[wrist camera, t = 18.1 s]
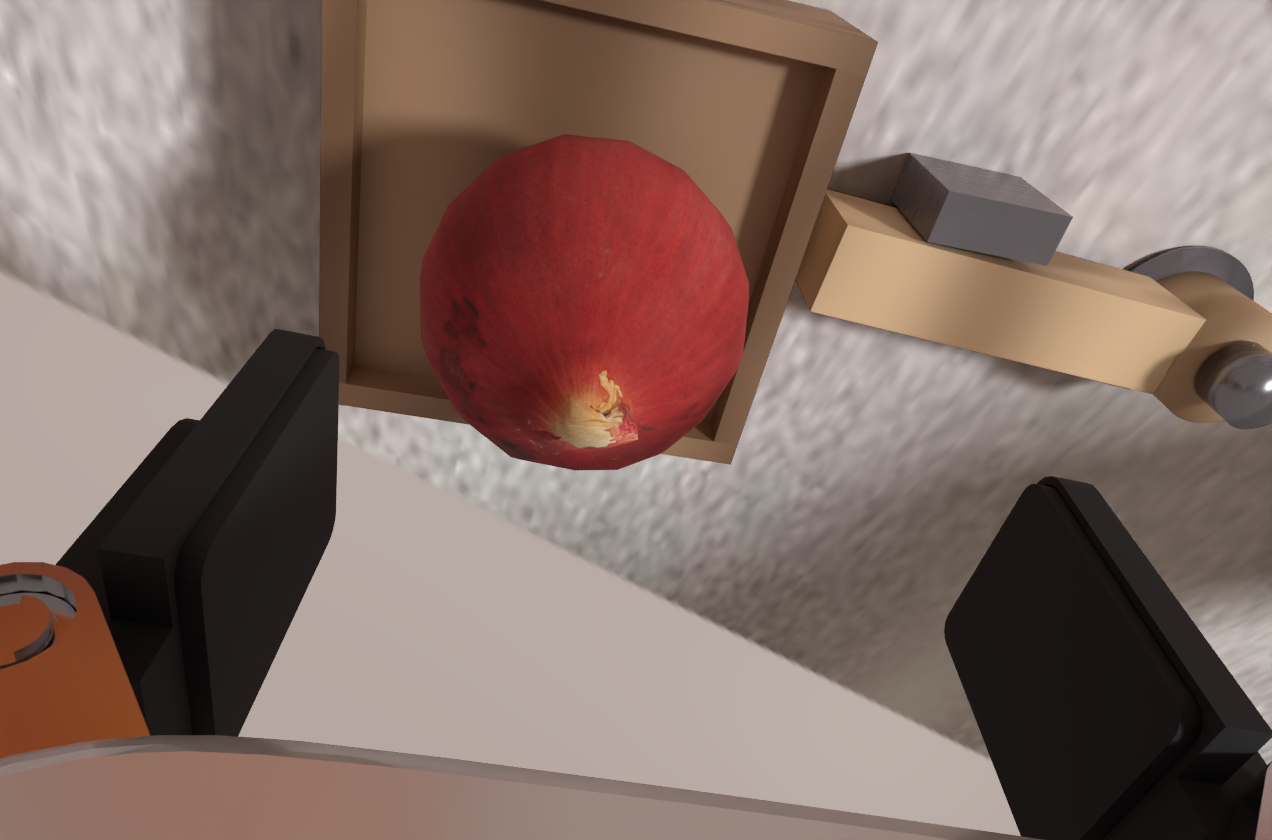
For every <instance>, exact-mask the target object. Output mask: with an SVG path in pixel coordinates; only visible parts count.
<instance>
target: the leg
mask: <svg viewBox="0 0 1272 840" xmlns="http://www.w3.org/2000/svg"><path fill="white" fill-rule="evenodd" d="M795 280H796V282H797V284H798V286H799V288H800V290H801V292H802V295H803V297H804V299H805V301H806V303H807V305H808V307H809V309H810V311H811V312H815V313H819V314H823V315H827V316H831V317H836V318H840V319H844V320H848V321H852V322H856V323H860V324H864V325H869V326H873V327H877V328H881V329H885V330H889V331H893V332H898V333H902V334H906V335H910V336H914V337H918V338H922V339H926V340H931V341H935V342H939V343H943V344H947V345H951V346H955V347H959V348H964V349H968V350H972V351H976V352H980V353H984V354H988V355H993V356H997V357H1001V358H1005V359H1009V360H1013V361H1017V362H1021V363H1026V364H1030V365H1034V366H1038V367H1042V368H1046V369H1050V370H1055V371H1059V372H1063V373H1067V374H1071V375H1075V376H1079V377H1083V378H1088V379H1092V380H1096V381H1100V382H1104V383H1108V384H1112V385H1116V386H1121V387H1125V388H1129V389H1133V390H1137V391H1141V392H1145V393H1150V394H1153V395H1154V396H1156V397H1157V398H1158V399H1159V400H1160V401H1161V402H1162V403H1163V404H1164V405H1165V406H1166V407H1167V408H1168V409H1169V410H1170V411H1171V412H1172V413H1173V414H1175V415H1176V416H1177V417H1179V418H1181V419H1183V420H1186V421H1190V422H1196V423H1211V422H1217V421H1222V420H1224V419H1223V418H1222V417H1221V416H1220V415H1219V414H1218V413H1216V412H1215V411H1214V410H1213V409H1212V408H1211V407H1210V406H1209V405H1207V404H1206V403H1205V402H1204V401H1203V400H1202V399H1201V398H1200V397H1199V396H1198V395H1197V394H1196V392H1195V389H1194V379H1195V376H1196V373H1197V371H1198V369H1199V368H1200V366H1201V365H1202V364H1203V362H1204V361H1205V360H1206V359H1207V358H1208V357H1209V356H1211V355H1212V354H1213V353H1214V352H1216V351H1218V350H1219V349H1221V348H1223V347H1225V346H1227V345H1230V344H1233V343H1237V342H1243V341H1250V342H1255V343H1258V344H1260V345H1262V346H1263V347H1264V348H1266V349H1267V350H1269V351H1270V352H1271V353H1272V313H1270V312H1269V311H1267V310H1266V309H1264V308H1263V307H1262V306H1260V305H1259V304H1257V303H1256V302H1254V301H1253V300H1251V299H1250V298H1248V297H1247V296H1245V295H1244V294H1242V293H1241V292H1239V291H1238V290H1236V289H1235V288H1233V287H1232V286H1231V285H1229V284H1228V283H1226V282H1225V281H1223V280H1222V279H1220V278H1218V277H1217V276H1215V275H1212V274H1210V273H1205V272H1196V271H1193V272H1184V273H1178V274H1175V275H1171V276H1169V277H1166V278H1164V279H1161V280H1159V281H1158V282H1156V281H1155V280H1153V279H1152V278H1151V277H1148V276H1145V275H1141V274H1137V273H1134V272H1130V271H1126V270H1123V269H1119V268H1115V267H1111V266H1108V265H1104V264H1100V263H1097V262H1093V261H1089V260H1086V259H1082V258H1078V257H1075V256H1071V255H1067V254H1064V253H1060V252H1056V251H1055V252H1054V254H1053V256H1052V258H1051V260H1050V262H1049V263H1048V265H1047V266H1044V265H1039V264H1034V263H1029V262H1024V261H1020V260H1015V259H1010V258H1005V257H1000V256H995V255H990V254H985V253H980V252H975V251H970V250H965V249H960V248H955V247H950V246H945V245H941V244H936V243H931V242H927V241H926V240H925V238H924V237H923V236H922V235H921V234H920V233H919V231H918V230H917V229H916V228H915V227H914V226H913V224H912V223H911V222H910V221H909V220H908V219H907V217H906V216H905V215H904V214H903V213H902V212H901V210H900V209H898V208H894V207H891V206H887V205H883V204H880V203H876V202H872V201H869V200H865V199H861V198H858V197H854V196H850V195H847V194H843V193H839V192H835V191H832V190H828V189H827V190H826V193H825V196H824V199H823V201H822V204H821V207H820V210H819V213H818V216H817V219H816V221H815V224H814V227H813V230H812V233H811V236H810V239H809V242H808V244H807V247H806V250H805V253H804V256H803V259H802V262H801V264H800V267H799V270H798V273H797V276H796V279H795Z"/></svg>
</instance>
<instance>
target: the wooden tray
mask: <svg viewBox="0 0 1272 840" xmlns="http://www.w3.org/2000/svg"><path fill="white" fill-rule="evenodd" d="M877 44H878V42H877V41H875V40H874V39H872V38H871V37H869V36H868V35H866V34H865V33H863V32H862V31H860V30H859V29H857V28H856V27H854V26H853V25H851V24H850V23H848V22H847V21H845V20H844V19H842V18H841V17H839V16H838V15H836V14H835V13H833V12H832V11H829V10H825V9H821V8H817V7H813V6H808V5H804V4H800V3H796V2H792V1H788V0H322V41H321V168H320V294H319V337H321V338H322V339H323V340H324V343H325V348H326V350H329V351H334V352H337V353H338V355H339V401H338V404H340V405H346V406H353V407H359V408H366V409H372V410H379V411H385V412H392V413H398V414H405V415H411V416H418V417H424V418H431V419H438V420H444V421H451V422H457V423H464V424H469V423H467V422H466V421H465V420H464V419H463V418H462V417H461V416H460V415H459V414H458V413H457V412H456V411H455V409H454V407H453V405H452V404H451V402H450V400H449V398H448V396H447V394H446V392H445V390H444V388H443V387H442V385H441V383H440V381H439V379H438V377H437V375H436V373H435V371H434V369H433V368H432V366H431V364H430V362H429V360H428V358H427V355H426V353H425V350H424V347H423V344H422V341H421V323H420V275H421V267H422V259H423V257H424V255H425V253H426V251H427V248H428V246H429V244H430V242H431V240H432V238H433V236H434V234H435V232H436V230H437V227H438V225H439V223H440V221H441V219H442V217H443V215H444V213H445V211H446V209H447V206H448V205H449V204H450V203H451V202H452V201H453V200H454V199H455V198H456V197H457V196H458V195H459V194H460V193H461V192H462V191H463V190H464V189H465V188H467V187H468V186H469V185H470V184H471V183H472V182H473V181H474V180H475V179H476V178H477V177H478V176H479V175H480V174H481V173H482V172H483V171H484V170H485V169H486V168H487V167H488V166H489V165H490V164H491V163H492V162H494V161H495V160H497V159H498V158H500V157H501V156H503V155H504V154H507V153H510V152H513V151H516V150H519V149H522V148H525V147H528V146H531V145H534V144H537V143H540V142H543V141H546V140H549V139H551V138H554V137H557V136H560V135H563V134H568V135H577V136H587V137H596V138H606V139H616V140H625V141H630V142H632V143H634V144H636V145H638V146H639V147H641V148H643V149H645V150H647V151H649V152H651V153H653V154H655V155H656V156H658V157H660V158H662V159H664V160H666V161H668V162H670V163H672V164H673V165H675V166H677V167H679V168H681V169H683V170H684V171H685V172H686V173H687V174H688V175H689V176H690V178H691V179H692V180H693V181H694V182H695V183H696V185H697V186H698V187H699V188H700V189H701V190H702V192H703V193H704V194H705V195H706V196H707V197H708V199H709V200H710V201H711V202H712V203H713V204H714V206H715V207H716V208H717V209H718V210H719V211H720V213H721V214H722V215H723V217H724V218H725V219H726V221H727V222H728V224H729V225H730V227H731V228H732V231H733V234H734V237H735V241H736V244H737V247H738V250H739V253H740V256H741V259H742V263H743V266H744V269H745V272H746V275H747V278H748V281H749V304H748V313H747V322H746V332H745V341H744V350H743V357H742V359H741V362H740V364H739V366H738V369H737V371H736V373H735V374H734V376H733V377H732V379H731V380H730V382H729V383H728V385H727V386H726V388H725V389H724V390H723V392H722V393H721V395H720V396H719V398H718V399H717V401H716V402H715V404H714V405H713V407H712V408H711V410H710V411H709V413H708V414H707V415H706V416H705V418H704V419H703V420H702V421H701V423H699V424H698V425H697V426H696V427H694V428H693V429H692V430H691V431H689V432H688V433H687V434H686V435H684V436H683V437H682V438H681V439H679V440H678V441H677V442H676V443H675V444H673V445H672V446H671V447H670V448H668V449H667V450H666V451H665V452H663V453H660V454H666V455H672V456H679V457H685V458H692V459H699V460H705V461H712V462H718V463H725V464H731V462H732V459H733V456H734V454H735V451H736V448H737V445H738V442H739V439H740V436H741V433H742V431H743V428H744V425H745V422H746V419H747V416H748V413H749V411H750V408H751V405H752V402H753V399H754V396H755V393H756V391H757V388H758V385H759V382H760V379H761V376H762V373H763V370H764V368H765V365H766V362H767V359H768V356H769V353H770V350H771V348H772V345H773V342H774V339H775V336H776V333H777V330H778V327H779V325H780V322H781V319H782V316H783V313H784V310H785V307H786V305H787V302H788V299H789V296H790V293H791V290H792V287H793V284H794V282H795V279H796V276H797V273H798V270H799V267H800V264H801V262H802V259H803V256H804V253H805V250H806V247H807V244H808V242H809V239H810V236H811V233H812V230H813V227H814V224H815V221H816V219H817V216H818V213H819V210H820V207H821V204H822V201H823V199H824V196H825V193H826V190H827V187H828V184H829V181H830V178H831V176H832V173H833V170H834V167H835V164H836V161H837V158H838V156H839V153H840V150H841V147H842V144H843V141H844V138H845V136H846V133H847V130H848V127H849V124H850V121H851V118H852V115H853V113H854V110H855V107H856V104H857V101H858V98H859V95H860V93H861V90H862V87H863V84H864V81H865V78H866V75H867V72H868V70H869V67H870V64H871V61H872V58H873V55H874V52H875V50H876V47H877Z"/></svg>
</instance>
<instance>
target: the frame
mask: <svg viewBox="0 0 1272 840" xmlns="http://www.w3.org/2000/svg"><path fill="white" fill-rule="evenodd" d="M891 200H892V201H893V202H894V203H895V205H896V206H897V207H898V208H899V209H900V210H901V212H902V213H903V214H904V215H905V216H906V217H907V219H908V220H909V221H910V222H911V223H912V224H913V226H914V227H915V228H916V229H917V230H918V231H919V233H920V234H921V235H922V236H923V237H924V238H925V240H926V241H927V242H931V243H936V244H941V245H945V246H950V247H955V248H960V249H965V250H970V251H975V252H980V253H985V254H990V255H995V256H1000V257H1005V258H1010V259H1015V260H1020V261H1024V262H1029V263H1034V264H1039V265H1044V266H1047V265H1048V263H1049V262H1050V260H1051V258H1052V256H1053V254H1054V252H1055V250H1056V248H1057V246H1058V244H1059V243H1060V241H1061V239H1062V237H1063V235H1064V233H1065V231H1066V229H1067V227H1068V225H1069V223H1070V222H1071V220H1072V218H1073V217H1072V216H1071V215H1069V214H1068V213H1067V212H1066V211H1064V210H1063V209H1062V208H1060V207H1059V206H1058V205H1056V204H1055V203H1054V202H1052V201H1051V200H1050V199H1048V198H1047V197H1046V196H1044V195H1043V194H1042V193H1040V192H1039V191H1038V190H1037V189H1035V188H1034V187H1033V186H1031V185H1030V184H1029V183H1027V182H1026V181H1025V180H1023V179H1022V178H1021V177H1017V176H1013V175H1008V174H1004V173H999V172H994V171H990V170H985V169H981V168H976V167H972V166H967V165H962V164H958V163H953V162H949V161H944V160H940V159H935V158H931V157H926V156H921V155H917V154H912V153H909V156H908V158H907V161H906V163H905V166H904V168H903V171H902V173H901V176H900V179H899V181H898V184H897V186H896V189H895V191H894V194H893V196H892V199H891ZM1129 271H1130V272H1134V273H1137V274H1141V275H1145V276H1148V277H1151V278H1152V279H1153V280H1155V281H1156V282H1158V281H1159V280H1161V279H1164V278H1166V277H1169V276H1171V275H1175V274H1178V273H1184V272H1193V271H1196V272H1205V273H1210V274H1212V275H1215V276H1217V277H1218V278H1220V279H1222V280H1223V281H1225V282H1226V283H1228V284H1229V285H1231V286H1232V287H1233V288H1235V289H1236V290H1238V291H1239V292H1241V293H1242V294H1244V295H1245V296H1247V297H1248V298H1250V299H1251V300H1253V299H1254V289H1253V283H1252V280H1251V277H1250V274H1249V273H1248V271H1247V269H1246V268H1245V266H1244V265H1243V264H1242V263H1241V262H1240V261H1239V260H1237V259H1236V258H1234V257H1233V256H1231V255H1230V254H1228V253H1226V252H1224V251H1222V250H1219V249H1216V248H1212V247H1206V246H1188V247H1180V248H1176V249H1171V250H1168V251H1165V252H1162V253H1159V254H1157V255H1155V256H1152V257H1150V258H1148V259H1146V260H1144V261H1143V262H1141V263H1139V264H1138V265H1136V266H1135V267H1133V268H1132V269H1130V270H1129ZM1119 387H1121V386H1119ZM1123 388H1125V387H1123ZM1127 389H1129V388H1127ZM1194 389H1195V392H1196V394H1197V395H1198V396H1199V397H1200V398H1201V399H1202V400H1203V401H1204V402H1205V403H1206V404H1207V405H1209V406H1210V407H1211V408H1212V409H1213V410H1214V411H1215V412H1216V413H1218V414H1219V415H1220V416H1221V417H1222V418H1223V419H1224V420H1225V421H1226V422H1228V423H1229V424H1230V425H1231V426H1233V427H1236V428H1239V429H1254V428H1259V427H1262V426H1265V425H1268V424H1270V423H1272V353H1271V352H1270V351H1269V350H1267V349H1266V348H1264V347H1263V346H1262V345H1260V344H1258V343H1255V342H1250V341H1243V342H1237V343H1233V344H1230V345H1227V346H1225V347H1223V348H1221V349H1219V350H1218V351H1216V352H1214V353H1213V354H1212V355H1211V356H1209V357H1208V358H1207V359H1206V360H1205V361H1204V362H1203V364H1202V365H1201V366H1200V368H1199V369H1198V371H1197V373H1196V376H1195V379H1194Z"/></svg>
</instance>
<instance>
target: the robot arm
mask: <svg viewBox="0 0 1272 840" xmlns="http://www.w3.org/2000/svg"><path fill="white" fill-rule="evenodd" d="M338 401H339V355H338V353H337V352H334V351H329V350H326V348H325V343H324V340H323V339H322V338H321V337H316V336H311V335H306V334H300V333H295V332H290V331H285V330H279V329H274V330H273V331H272V332H271V333H270V334H269V335H268V336H267V338H266V339H265V340H264V341H263V343H262V344H261V345H260V346H259V348H258V349H257V350H256V351H255V353H254V354H253V355H252V356H251V358H250V359H249V360H248V361H247V363H246V364H245V365H244V366H243V368H242V369H241V370H240V371H239V373H238V374H237V375H236V376H235V378H234V379H233V380H232V381H231V383H230V384H229V385H228V386H227V388H226V389H225V390H224V392H223V393H222V394H221V395H220V396H219V398H218V399H217V400H216V401H215V403H214V404H213V405H212V406H211V408H210V409H209V410H208V411H207V413H206V414H205V415H204V416H203V418H202V419H201V420H200V421H199V420H193V419H188V418H187V419H183V420H180V421H178V422H177V423H176V424H175V425H174V426H173V427H171V429H170V430H169V431H168V432H167V433H166V434H165V436H164V437H163V438H162V439H161V440H160V442H159V443H158V444H157V445H156V446H155V448H154V449H153V450H152V451H151V452H150V453H149V455H148V456H147V457H146V458H145V459H144V461H143V462H142V463H141V464H140V465H139V467H138V468H137V469H136V470H135V471H134V473H133V474H132V475H131V476H130V477H129V478H128V480H127V481H126V482H125V483H124V484H123V485H122V487H121V488H120V489H119V490H118V491H117V493H116V494H115V495H114V496H113V498H112V499H111V500H110V501H109V502H108V503H107V504H106V506H105V507H104V508H103V509H102V510H101V512H100V513H99V514H98V515H97V516H96V518H95V519H94V520H93V521H92V522H91V523H90V525H89V526H88V527H87V528H86V529H85V530H84V532H83V533H82V534H81V535H80V536H79V538H78V539H77V540H76V541H75V542H74V544H73V545H72V546H71V547H70V548H69V549H68V551H67V552H66V553H65V554H64V555H63V557H62V558H61V559H60V560H59V561H58V562H57V564H56V565H52V564H48V563H43V562H14V563H8V564H3V565H0V840H1272V761H1271V762H1270V763H1269V764H1268V765H1267V764H1266V763H1265V762H1264V760H1263V759H1262V757H1261V756H1260V754H1259V753H1258V750H1259V749H1260V748H1261V747H1262V746H1263V745H1265V744H1266V743H1267V742H1268V741H1269V740H1270V739H1271V738H1272V730H1271V728H1270V727H1269V726H1268V724H1267V723H1266V722H1265V720H1264V719H1263V717H1262V716H1261V715H1260V713H1259V712H1258V711H1257V709H1256V708H1255V706H1254V705H1253V704H1252V702H1251V701H1250V700H1249V698H1248V697H1247V695H1246V694H1245V693H1244V691H1243V690H1242V688H1241V687H1240V686H1239V684H1238V683H1237V682H1236V680H1235V679H1234V677H1233V676H1232V675H1231V673H1230V672H1229V671H1228V669H1227V668H1226V666H1225V665H1224V664H1223V662H1222V661H1221V660H1220V658H1219V657H1218V655H1217V654H1216V653H1215V651H1214V650H1213V649H1212V647H1211V646H1210V644H1209V643H1208V642H1207V640H1206V639H1205V638H1204V636H1203V635H1202V633H1201V632H1200V631H1199V629H1198V628H1197V626H1196V625H1195V624H1194V622H1193V621H1192V620H1191V618H1190V617H1189V615H1188V614H1187V613H1186V611H1185V610H1184V609H1183V607H1182V606H1181V604H1180V603H1179V602H1178V600H1177V599H1176V598H1175V596H1174V595H1173V593H1172V592H1171V591H1170V589H1169V588H1168V587H1167V585H1166V584H1165V582H1164V581H1163V580H1162V578H1161V577H1160V576H1159V574H1158V573H1157V571H1156V570H1155V569H1154V567H1153V566H1152V564H1151V563H1150V562H1149V560H1148V559H1147V558H1146V556H1145V555H1144V553H1143V552H1142V551H1141V549H1140V548H1139V547H1138V545H1137V544H1136V542H1135V541H1134V540H1133V538H1132V537H1131V536H1130V534H1129V533H1128V531H1127V530H1126V529H1125V527H1124V526H1123V525H1122V523H1121V522H1120V520H1119V519H1118V518H1117V516H1116V515H1115V514H1114V512H1113V511H1112V509H1111V508H1110V507H1109V505H1108V504H1107V503H1106V501H1105V500H1104V498H1103V497H1102V496H1101V494H1100V493H1099V491H1098V490H1097V489H1096V488H1095V487H1094V486H1093V485H1091V484H1088V483H1084V482H1078V481H1073V480H1068V479H1062V478H1057V477H1052V476H1050V477H1045V478H1043V479H1042V480H1040V481H1039V482H1038V483H1037V484H1032V485H1030V486H1028V487H1027V488H1026V489H1025V490H1024V491H1023V493H1022V494H1021V496H1020V498H1019V499H1018V501H1017V503H1016V504H1015V506H1014V508H1013V509H1012V511H1011V513H1010V514H1009V516H1008V517H1007V519H1006V521H1005V522H1004V524H1003V526H1002V527H1001V529H1000V531H999V532H998V534H997V536H996V537H995V539H994V540H993V542H992V544H991V545H990V547H989V549H988V550H987V552H986V554H985V555H984V557H983V559H982V560H981V562H980V563H979V565H978V567H977V568H976V570H975V572H974V573H973V575H972V577H971V578H970V580H969V582H968V583H967V585H966V587H965V588H964V590H963V591H962V593H961V595H960V596H959V598H958V600H957V601H956V603H955V605H954V606H953V608H952V610H951V611H950V613H949V615H948V617H947V619H946V623H945V630H944V633H945V640H946V644H947V646H948V649H949V652H950V654H951V657H952V659H953V662H954V665H955V667H956V670H957V672H958V675H959V677H960V680H961V683H962V685H963V688H964V690H965V693H966V695H967V698H968V701H969V703H970V706H971V708H972V711H973V713H974V716H975V719H976V721H977V724H978V726H979V729H980V732H981V734H982V737H983V739H984V742H985V744H986V747H987V750H988V752H989V755H990V757H991V760H992V762H993V765H994V767H995V770H996V773H997V775H998V778H999V780H1000V783H1001V786H1002V788H1003V791H1004V793H1005V796H1006V798H1007V801H1008V804H1009V806H1010V809H1011V811H1012V814H1013V817H1014V819H1015V822H1016V824H1017V827H1018V829H1019V832H1020V835H1021V836H1014V835H1007V834H1000V833H994V832H987V831H980V830H973V829H965V828H959V827H951V826H944V825H938V824H930V823H924V822H917V821H909V820H902V819H895V818H888V817H881V816H873V815H866V814H859V813H851V812H844V811H837V810H830V809H823V808H815V807H808V806H801V805H793V804H786V803H779V802H772V801H765V800H757V799H750V798H743V797H735V796H728V795H721V794H713V793H706V792H699V791H691V790H684V789H676V788H669V787H662V786H654V785H647V784H639V783H631V782H624V781H616V780H609V779H601V778H594V777H586V776H579V775H571V774H563V773H556V772H548V771H540V770H532V769H525V768H518V767H510V766H503V765H495V764H488V763H480V762H472V761H464V760H457V759H450V758H441V757H431V756H424V755H415V754H406V753H398V752H389V751H380V750H372V749H362V748H355V747H346V746H337V745H327V744H319V743H311V742H303V741H290V740H277V739H263V738H249V737H238V735H239V733H240V731H241V728H242V726H243V724H244V722H245V720H246V718H247V716H248V713H249V711H250V709H251V707H252V705H253V703H254V701H255V699H256V696H257V694H258V692H259V690H260V688H261V685H262V683H263V681H264V679H265V677H266V675H267V673H268V671H269V669H270V666H271V664H272V662H273V660H274V658H275V656H276V654H277V652H278V649H279V647H280V645H281V643H282V641H283V639H284V637H285V634H286V632H287V630H288V628H289V626H290V624H291V622H292V619H293V617H294V615H295V613H296V611H297V609H298V606H299V604H300V602H301V600H302V598H303V596H304V594H305V592H306V589H307V587H308V585H309V583H310V581H311V579H312V576H313V575H314V572H315V570H316V568H317V566H318V564H319V562H320V560H321V557H322V555H323V553H324V551H325V549H326V547H327V545H328V543H329V540H330V537H331V534H332V531H333V527H334V522H335V515H336V482H337V442H338Z"/></svg>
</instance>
